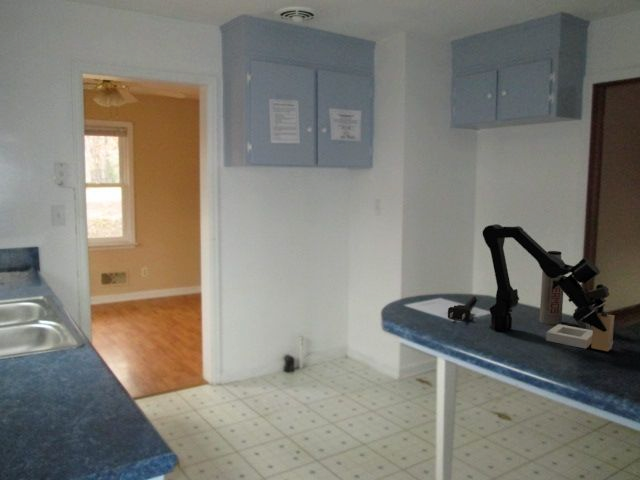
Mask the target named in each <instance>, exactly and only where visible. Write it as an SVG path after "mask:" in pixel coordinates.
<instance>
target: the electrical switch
mask: <svg viewBox="0 0 640 480" xmlns="http://www.w3.org/2000/svg"><path fill="white" fill-rule="evenodd" d="M577 309H578V308H577V307H576V308H575V309H574V313H575V312H576V311H577ZM582 319H584V317H583V318H582ZM582 319H580V320H579V321H576V323H577V326H578V327H577V328H582V329H588V330H593V326H591V325H589V324H587V323H585V322H583V321H581V320H582Z"/></svg>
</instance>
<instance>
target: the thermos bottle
mask: <svg viewBox="0 0 640 480" xmlns="http://www.w3.org/2000/svg"><path fill="white" fill-rule="evenodd" d="M547 252H548V253H549V254H551V255H553V256H555V257H557V258H559V259H560V260H562V261H563V262H564V260H563V259H562V252H561V251H558V250H549V251H547ZM541 271H542V273H541V286H540V287H541V288H540V289H541V290H540V304H539V305H540V306H539V322H540V323H542V324H545V325H553V326H554V325H555V326H556V325H558V324H560V325H562V321H563V320H562V318H563V306H564V305H563V304H564V292H563V290H562V289H561V288H560V287H559V286H558V287H556V288H554V289H553V288H552V286H553V281H554V280H559V279H560V278H561V277H563V276H565V275H561V276H559V277H557V278H549V277H548V276H547V275H546V274H545V273H544V272H543V270H542V269H541Z"/></svg>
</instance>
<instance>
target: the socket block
mask: <svg viewBox="0 0 640 480" xmlns="http://www.w3.org/2000/svg"><path fill="white" fill-rule="evenodd" d="M592 333H593V329H592V330H588V329H582V328H579V327H576V326H569V325H565V324H557V325H555V326H554V327H552V328H551V329H548V331H546V333H545V335H546V336H545V341H547V342H552V343H557V344H561V345H565V346H572V347H577V348H581V349H585V350H586V349H587V348H588V347H590V345H592Z"/></svg>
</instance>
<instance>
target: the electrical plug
mask: <svg viewBox="0 0 640 480" xmlns="http://www.w3.org/2000/svg"><path fill="white" fill-rule="evenodd" d="M476 300H477V297H476V296H475V295H474V296H472V297H471V298H470V299H469V300H467V302H466V303H465V304H458V305H453V306H450V307H448V309H447V318H448V319H451V320H458V321H467V322H468V321H470V320H471V308H472V307H471V305H472V304H474V302H475V301H476Z"/></svg>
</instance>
